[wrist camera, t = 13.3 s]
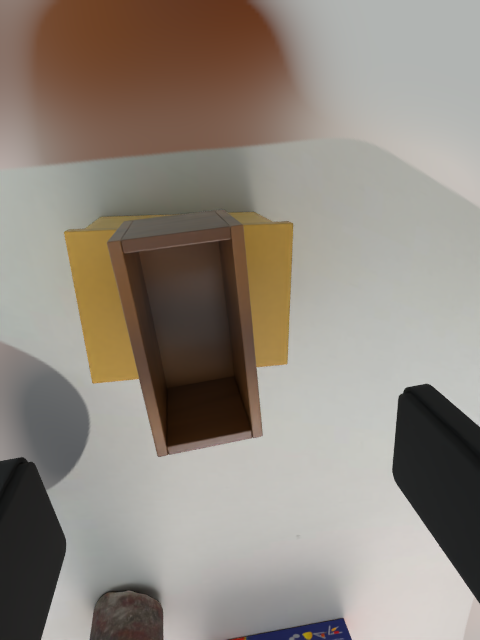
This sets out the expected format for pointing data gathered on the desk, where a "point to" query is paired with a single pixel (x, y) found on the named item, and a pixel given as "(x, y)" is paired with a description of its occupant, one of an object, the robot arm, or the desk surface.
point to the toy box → (307, 632)
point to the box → (106, 310)
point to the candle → (127, 617)
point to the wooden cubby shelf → (190, 327)
